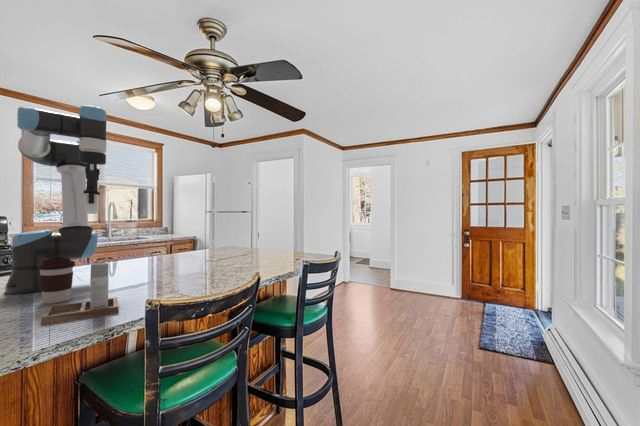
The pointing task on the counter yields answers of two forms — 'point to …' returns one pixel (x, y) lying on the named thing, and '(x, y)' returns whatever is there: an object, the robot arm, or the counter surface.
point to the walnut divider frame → (83, 313)
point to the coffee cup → (56, 279)
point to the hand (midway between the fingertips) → (92, 213)
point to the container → (99, 286)
